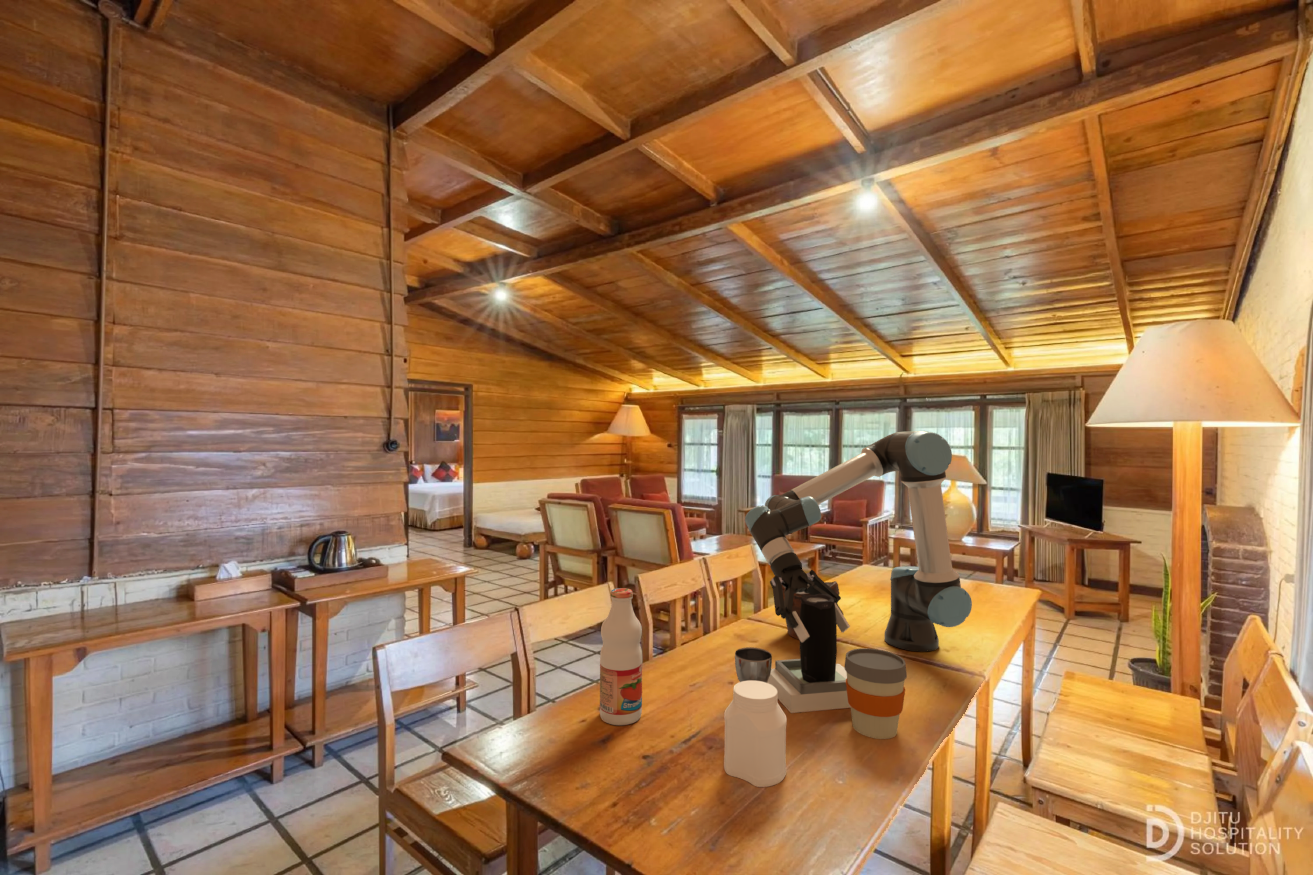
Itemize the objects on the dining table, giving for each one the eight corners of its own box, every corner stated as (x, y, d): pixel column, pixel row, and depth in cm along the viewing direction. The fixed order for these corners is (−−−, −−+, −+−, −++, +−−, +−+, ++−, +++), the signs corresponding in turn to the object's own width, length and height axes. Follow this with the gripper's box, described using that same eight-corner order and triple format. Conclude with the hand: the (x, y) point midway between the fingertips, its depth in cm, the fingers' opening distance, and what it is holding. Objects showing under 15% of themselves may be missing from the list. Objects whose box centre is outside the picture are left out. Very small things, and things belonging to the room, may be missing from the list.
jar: (794, 768, 110) (794, 689, 110) (770, 792, 102) (771, 707, 102) (740, 748, 117) (741, 673, 117) (715, 769, 109) (715, 689, 109)
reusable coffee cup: (908, 748, 117) (908, 673, 117) (842, 736, 121) (843, 664, 121) (904, 719, 129) (905, 652, 129) (845, 710, 133) (845, 644, 133)
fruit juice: (610, 703, 136) (611, 583, 136) (648, 710, 133) (648, 587, 132) (592, 722, 127) (593, 593, 127) (632, 729, 124) (633, 598, 124)
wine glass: (773, 716, 130) (774, 649, 130) (768, 734, 122) (769, 662, 122) (738, 711, 132) (738, 645, 132) (731, 727, 125) (731, 657, 125)
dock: (856, 677, 151) (856, 654, 151) (890, 703, 137) (890, 678, 137) (765, 684, 146) (765, 661, 146) (790, 712, 132) (791, 686, 132)
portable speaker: (825, 669, 146) (825, 591, 145) (844, 685, 136) (844, 601, 136) (793, 671, 144) (793, 592, 144) (810, 688, 135) (809, 603, 135)
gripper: (809, 562, 160) (852, 633, 147) (737, 573, 147) (779, 651, 134) (824, 546, 155) (870, 617, 142) (751, 555, 142) (795, 635, 129)
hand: (826, 634), depth 138 cm, fingers open, 13 cm apart
